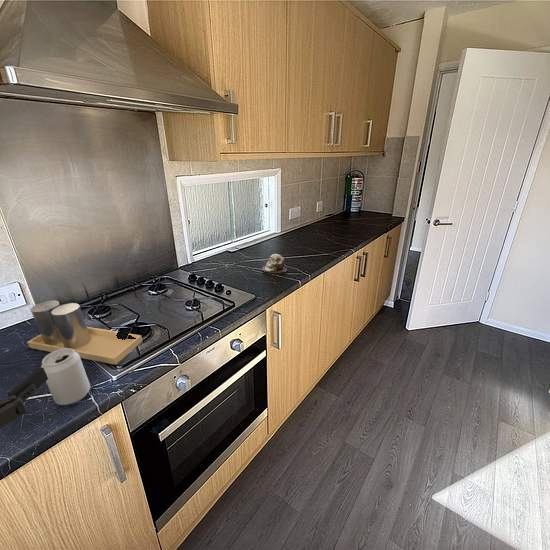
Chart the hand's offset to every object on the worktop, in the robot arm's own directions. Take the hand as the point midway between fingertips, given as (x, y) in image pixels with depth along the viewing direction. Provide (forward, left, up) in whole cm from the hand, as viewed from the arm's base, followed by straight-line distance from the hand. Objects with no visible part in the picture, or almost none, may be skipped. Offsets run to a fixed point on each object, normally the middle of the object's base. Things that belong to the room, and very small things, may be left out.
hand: (12, 371), depth 56 cm
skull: (+24, +98, -16) cm, 102 cm away
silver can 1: (-27, +27, -16) cm, 41 cm away
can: (-2, +10, -16) cm, 19 cm away
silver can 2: (-19, +27, -16) cm, 36 cm away
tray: (-16, +27, -16) cm, 35 cm away
